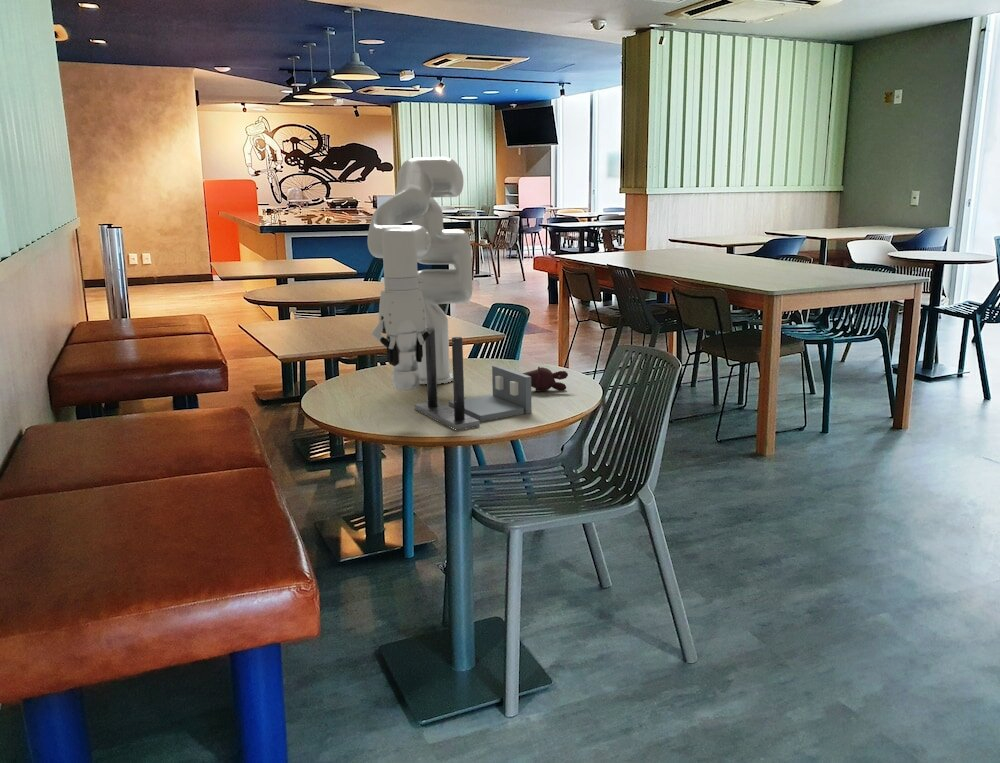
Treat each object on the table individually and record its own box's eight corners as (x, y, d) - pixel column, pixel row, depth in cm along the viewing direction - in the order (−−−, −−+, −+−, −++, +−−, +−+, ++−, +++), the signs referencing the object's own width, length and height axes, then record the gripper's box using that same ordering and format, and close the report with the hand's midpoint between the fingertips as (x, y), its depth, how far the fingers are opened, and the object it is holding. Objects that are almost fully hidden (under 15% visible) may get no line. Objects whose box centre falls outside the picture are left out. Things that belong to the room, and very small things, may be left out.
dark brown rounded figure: (511, 371, 210) (568, 376, 209) (512, 359, 216) (568, 363, 216) (510, 394, 213) (566, 399, 213) (511, 381, 219) (565, 386, 219)
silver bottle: (424, 386, 188) (421, 302, 182) (415, 394, 181) (411, 306, 176) (398, 385, 189) (394, 301, 184) (388, 392, 183) (384, 306, 178)
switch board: (449, 407, 200) (447, 372, 198) (497, 399, 207) (497, 365, 205) (480, 421, 187) (479, 384, 185) (531, 412, 194) (531, 376, 192)
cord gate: (415, 409, 199) (411, 328, 194) (436, 406, 202) (433, 326, 197) (456, 431, 181) (453, 342, 176) (479, 426, 184) (477, 339, 179)
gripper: (428, 279, 186) (431, 355, 191) (359, 285, 178) (364, 364, 182) (443, 282, 180) (446, 360, 185) (371, 289, 171) (376, 371, 176)
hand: (405, 362), depth 183 cm, fingers closed on silver bottle, 5 cm apart
